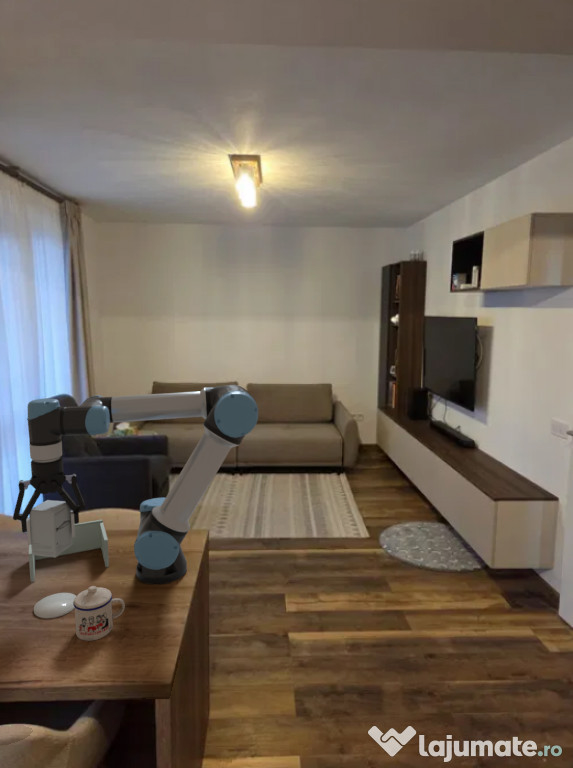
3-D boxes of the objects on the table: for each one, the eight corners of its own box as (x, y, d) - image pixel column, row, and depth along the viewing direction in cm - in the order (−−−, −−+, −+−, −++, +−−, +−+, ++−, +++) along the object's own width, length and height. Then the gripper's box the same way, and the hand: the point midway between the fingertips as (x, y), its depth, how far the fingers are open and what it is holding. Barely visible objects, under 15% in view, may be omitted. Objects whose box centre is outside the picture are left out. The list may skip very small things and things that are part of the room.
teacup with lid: (75, 646, 120) (72, 601, 118) (75, 624, 128) (72, 582, 127) (127, 633, 125) (125, 590, 123) (123, 613, 133) (122, 572, 131)
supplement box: (56, 558, 129) (53, 512, 127) (31, 555, 131) (27, 509, 129) (73, 545, 136) (71, 501, 135) (49, 542, 138) (46, 499, 136)
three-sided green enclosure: (31, 559, 161) (29, 531, 160) (103, 545, 171) (102, 519, 169) (30, 582, 148) (28, 552, 146) (109, 566, 157) (107, 537, 156)
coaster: (86, 596, 140) (86, 594, 140) (62, 620, 130) (62, 618, 130) (50, 592, 142) (50, 590, 142) (24, 616, 131) (24, 613, 131)
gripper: (91, 449, 138) (95, 525, 141) (-2, 459, 128) (4, 541, 132) (94, 456, 131) (98, 536, 135) (-5, 467, 122) (2, 553, 125)
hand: (52, 538), depth 133 cm, fingers closed on supplement box, 10 cm apart
